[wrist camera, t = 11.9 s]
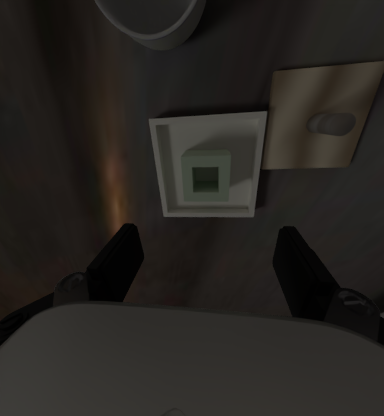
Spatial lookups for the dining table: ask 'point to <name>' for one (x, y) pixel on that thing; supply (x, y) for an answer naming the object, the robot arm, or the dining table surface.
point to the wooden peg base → (318, 115)
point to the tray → (206, 140)
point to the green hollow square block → (206, 189)
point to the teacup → (154, 20)
